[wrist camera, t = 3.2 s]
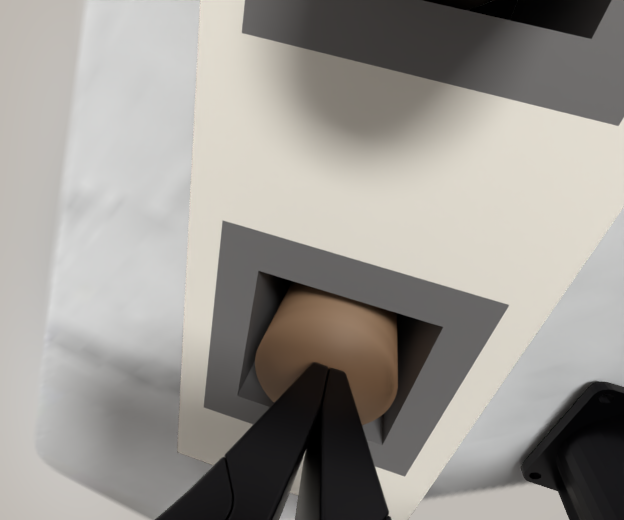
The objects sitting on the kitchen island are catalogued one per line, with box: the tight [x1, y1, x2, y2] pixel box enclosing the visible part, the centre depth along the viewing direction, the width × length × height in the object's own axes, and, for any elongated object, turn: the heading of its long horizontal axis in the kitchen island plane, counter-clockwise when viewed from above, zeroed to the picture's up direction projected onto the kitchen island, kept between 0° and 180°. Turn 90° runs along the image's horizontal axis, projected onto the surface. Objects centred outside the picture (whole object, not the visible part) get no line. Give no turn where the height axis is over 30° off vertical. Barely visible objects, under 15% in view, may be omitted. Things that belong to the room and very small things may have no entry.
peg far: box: [255, 281, 398, 425], centre depth 11 cm, size 4×4×6 cm
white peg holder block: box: [177, 0, 624, 520], centre depth 9 cm, size 22×8×6 cm, turn 167°
